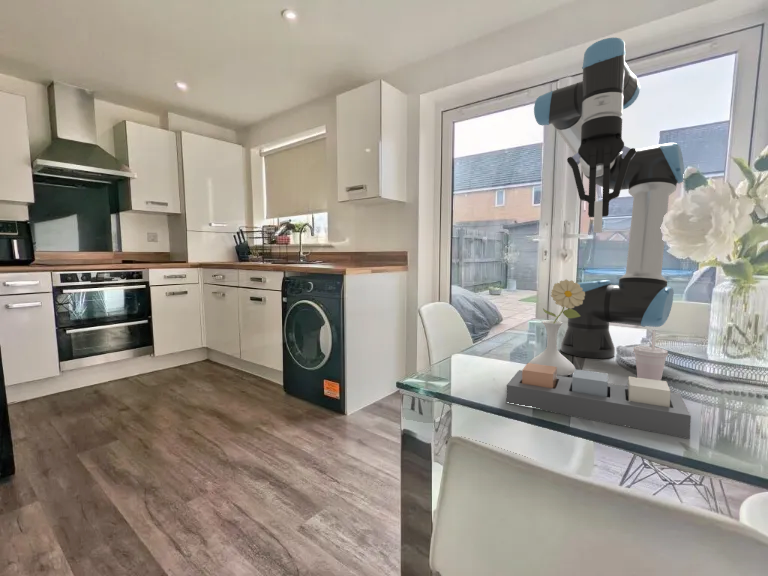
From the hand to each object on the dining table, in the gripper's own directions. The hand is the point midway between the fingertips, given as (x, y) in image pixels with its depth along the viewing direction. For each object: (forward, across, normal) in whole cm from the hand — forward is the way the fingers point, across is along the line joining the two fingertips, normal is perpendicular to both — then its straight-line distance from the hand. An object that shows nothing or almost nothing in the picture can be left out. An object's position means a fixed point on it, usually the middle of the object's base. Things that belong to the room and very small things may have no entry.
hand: (597, 232), depth 80 cm
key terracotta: (+34, -10, -10) cm, 37 cm away
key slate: (+34, 0, -10) cm, 36 cm away
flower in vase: (+36, -9, +11) cm, 39 cm away
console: (+36, 0, -10) cm, 37 cm away
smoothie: (+36, +11, +8) cm, 39 cm away
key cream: (+34, +9, -10) cm, 37 cm away
